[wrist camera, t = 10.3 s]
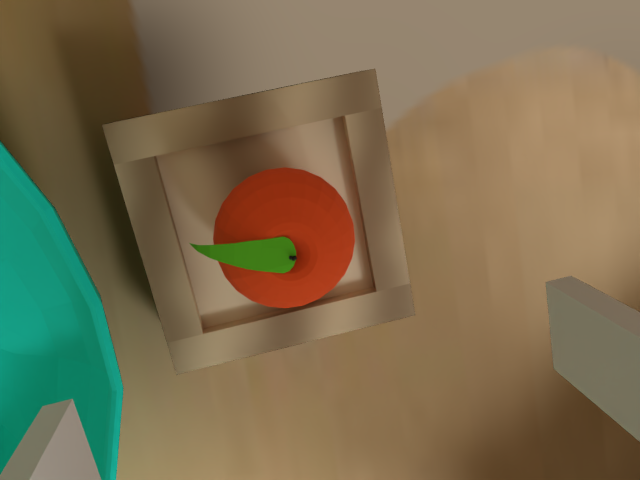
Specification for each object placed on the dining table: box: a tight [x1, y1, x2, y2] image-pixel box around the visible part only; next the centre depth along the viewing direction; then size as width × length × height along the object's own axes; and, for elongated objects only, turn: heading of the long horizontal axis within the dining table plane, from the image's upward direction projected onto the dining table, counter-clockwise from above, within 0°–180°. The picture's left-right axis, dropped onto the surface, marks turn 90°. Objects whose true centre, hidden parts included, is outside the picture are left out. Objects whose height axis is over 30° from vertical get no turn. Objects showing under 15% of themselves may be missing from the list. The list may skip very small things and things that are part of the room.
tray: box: [102, 69, 415, 375], centre depth 33 cm, size 14×14×5 cm
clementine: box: [189, 167, 355, 308], centre depth 28 cm, size 8×7×7 cm
